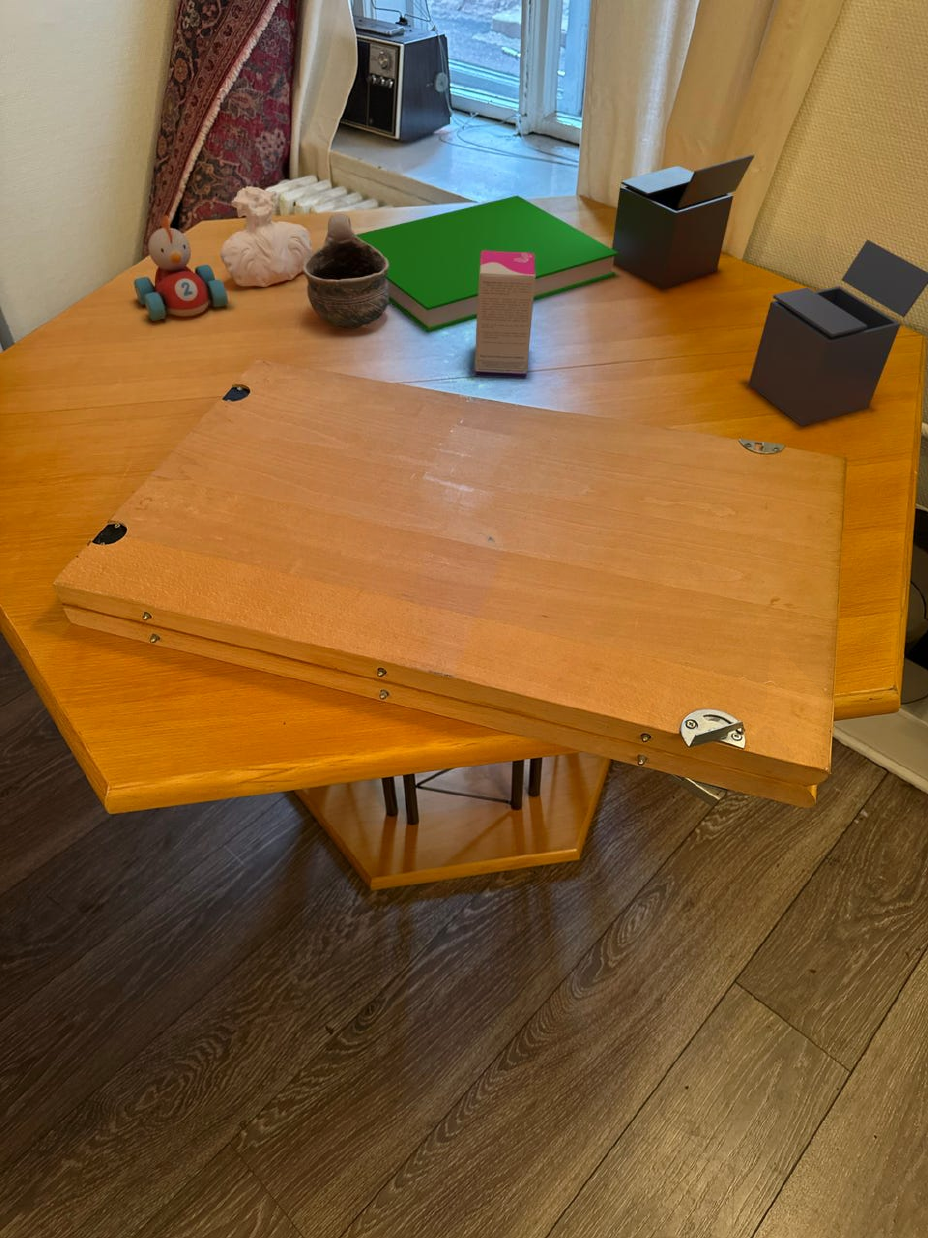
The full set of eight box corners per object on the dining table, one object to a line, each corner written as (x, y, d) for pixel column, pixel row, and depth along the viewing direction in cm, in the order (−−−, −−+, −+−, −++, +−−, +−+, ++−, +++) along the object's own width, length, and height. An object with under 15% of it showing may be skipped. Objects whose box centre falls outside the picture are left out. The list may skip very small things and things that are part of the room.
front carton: (812, 367, 99) (841, 279, 91) (868, 407, 93) (903, 316, 86) (748, 384, 96) (772, 294, 89) (801, 426, 90) (832, 334, 83)
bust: (312, 279, 117) (278, 192, 115) (331, 261, 110) (296, 168, 108) (227, 303, 112) (190, 212, 110) (242, 285, 105) (203, 188, 103)
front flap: (841, 279, 91) (842, 280, 92) (902, 316, 86) (904, 317, 86) (867, 239, 89) (868, 239, 89) (932, 274, 84) (933, 275, 84)
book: (615, 275, 114) (618, 252, 112) (427, 332, 103) (427, 307, 101) (513, 215, 127) (515, 193, 125) (338, 260, 116) (335, 237, 114)
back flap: (734, 189, 108) (735, 190, 108) (677, 206, 104) (678, 208, 104) (753, 153, 104) (754, 155, 104) (694, 170, 100) (696, 172, 100)
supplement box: (528, 378, 96) (535, 275, 88) (473, 376, 96) (476, 273, 88) (528, 351, 100) (535, 250, 92) (475, 350, 100) (477, 248, 92)
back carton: (717, 270, 116) (735, 189, 108) (662, 289, 112) (677, 206, 104) (663, 244, 121) (677, 165, 114) (610, 261, 117) (620, 180, 110)
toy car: (155, 328, 103) (133, 242, 96) (136, 297, 108) (114, 213, 101) (232, 311, 106) (216, 226, 99) (209, 281, 111) (193, 199, 104)
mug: (318, 345, 101) (308, 257, 94) (296, 296, 109) (285, 212, 102) (400, 332, 103) (397, 246, 96) (372, 286, 111) (367, 203, 104)
